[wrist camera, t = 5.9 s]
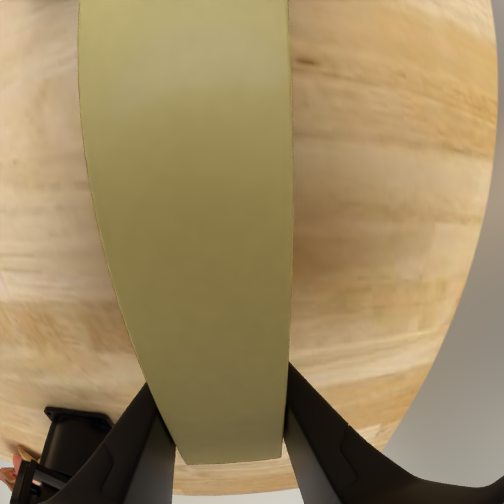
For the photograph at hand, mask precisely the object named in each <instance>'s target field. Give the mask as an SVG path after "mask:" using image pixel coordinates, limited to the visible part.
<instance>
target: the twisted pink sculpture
mask: <svg viewBox="0 0 504 504" xmlns="http://www.w3.org/2000/svg"><path fill="white" fill-rule="evenodd" d="M17 449H18V451H19V453H20V455H21V456H19V455H17V454H14V455H13V464H14V468H1V469H0V480H2V481H3V482H4V483H5V484H6V485H7V486H8V487H9V488H10V490H11V491H12V492H13V488H14V484H15V481H16V477H17V474H18V470H19V467H20V464H21V460H22V459H23V460H26V461H29V462H30V461H31V459H33V460H35V459H34V458H33V457H31V456H30V455H29V454H27V453H26V452H24V451H23V449H22V448H21V447H20V446H18V447H17ZM35 461H36V460H35ZM39 462H40V458H39V460H38V461H37V463H39ZM33 483H35V484H37V485H39V486H40V484H41V483H39V482H37V481H35V480H33Z"/></svg>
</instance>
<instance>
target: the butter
mask: <svg viewBox="0 0 504 504" xmlns="http://www.w3.org/2000/svg"><path fill="white" fill-rule="evenodd" d="M78 86H79V102H80V115H81V126H82V135H83V144H84V152H85V159H86V166H87V172H88V179H89V185H90V190H91V196H92V201H93V206H94V211H95V216H96V221H97V225H98V230H99V234H100V239H101V243H102V247H103V251H104V255H105V259H106V263H107V266H108V270H109V274H110V277H111V281H112V284H113V288H114V291H115V295H116V298H117V301H118V304H119V308H120V311H121V314H122V317H123V320H124V323H125V326H126V329H127V332H128V334H129V337H130V340H131V343H132V346H133V348H134V351H135V354H136V356H137V359H138V362H139V364H140V367H141V369H142V372H143V374H144V377H145V379H146V382H147V384H148V386H149V389H150V391H151V393H152V396H153V398H154V400H155V402H156V405H157V407H158V409H159V411H160V414H161V416H162V418H163V420H164V422H165V424H166V426H167V428H168V430H169V432H170V434H171V436H172V438H173V440H174V442H175V444H176V446H177V448H178V450H179V452H180V454H181V456H182V458H183V460H184V461H185V463H186V464H187V465H199V464H225V463H239V462H250V461H260V460H268V459H276V458H280V457H281V454H282V443H283V432H284V420H285V407H286V393H287V378H288V361H289V343H290V323H291V298H292V268H293V218H294V143H293V95H292V66H291V44H290V25H289V9H288V0H80V2H79V17H78Z"/></svg>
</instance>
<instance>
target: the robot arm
mask: <svg viewBox="0 0 504 504" xmlns="http://www.w3.org/2000/svg"><path fill="white" fill-rule="evenodd" d="M44 412H45V414H46V415H47V416H48V418H49V419H50V420H51V421H52V423H51V426H50V429H49V432H48V435H47V438H46V442H45V445H44V448H43V452H42V455H41V458H40V462H39V463H37V461H35V460H33V459H31V461H30V462H29V461H26V460H23V459H22V460H21V464H20V467H19V470H18V474H17V477H16V481H15V484H14V488H13V492H12V496H11V500H10V504H172V489H173V475H174V463H175V451H176V444H175V442H174V440H173V438H172V436H171V434H170V432H169V430H168V428H167V426H166V424H165V422H164V420H163V418H162V416H161V414H160V411H159V409H158V407H157V405H156V402H155V400H154V398H153V396H152V393H151V391H150V389H149V386H148V384H147V382H146V383H145V384H144V386H143V387H142V389H141V390H140V391H139V393H138V394H137V395H136V397H135V398H134V399H133V401H132V402H131V403H130V405H129V406H128V407H127V409H126V410H125V412H124V413H123V414H122V416H121V417H120V418H119V420H118V421H117V422H116V424H115V425H113V424H112V422H111V421H110V419H109V418H108V417H107V416H106V415H104V414H101V413H91V412H82V411H73V410H66V409H59V408H52V407H45V410H44ZM283 438H284V441H285V444H286V447H287V451H288V454H289V457H290V460H291V463H292V467H293V470H294V473H295V476H296V479H297V482H298V486H299V489H300V491H301V495H302V498H303V501H304V504H504V476H503V477H501V478H500V479H498V480H497V481H496V482H494V483H493V484H491V485H489V486H485V487H479V488H473V487H465V486H457V485H450V484H444V483H439V482H433V481H428V480H424V479H421V478H418V477H416V476H414V475H412V474H410V473H409V472H407V471H406V470H404V469H403V468H401V467H400V466H399V465H397V464H396V463H394V462H393V461H392V460H390V459H389V458H387V457H386V456H385V455H383V454H382V453H381V452H379V451H378V450H377V449H376V448H374V447H373V446H372V445H370V444H369V443H368V442H367V441H366V440H365V439H364V438H363V437H361V436H360V435H359V434H358V433H357V432H356V431H355V430H354V429H353V428H352V427H351V426H350V425H349V426H348V423H347V422H346V421H345V420H344V419H343V418H342V417H341V416H340V415H339V414H338V413H337V412H336V411H335V410H334V409H333V408H332V407H331V405H330V404H329V403H328V402H327V401H326V400H325V399H324V398H323V397H322V396H321V395H320V394H319V393H318V392H317V391H316V390H315V389H314V388H313V387H312V386H311V385H310V384H309V382H308V381H307V380H306V379H305V378H304V377H303V376H302V375H301V374H300V373H299V372H298V371H297V370H296V369H295V368H294V366H293V365H292V364H291V363H290V362H289V361H288V378H287V393H286V407H285V420H284V432H283ZM33 480H35V481H37V482H39V483H41V484H40V486H39V485H37V484H35V483H33Z"/></svg>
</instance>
